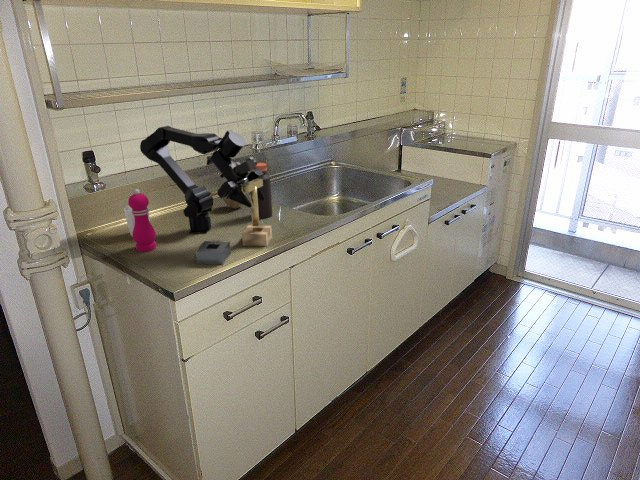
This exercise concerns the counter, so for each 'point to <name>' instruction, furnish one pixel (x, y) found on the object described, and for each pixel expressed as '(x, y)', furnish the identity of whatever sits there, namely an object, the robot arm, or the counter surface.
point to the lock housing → (213, 252)
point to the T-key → (253, 198)
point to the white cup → (131, 218)
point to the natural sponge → (232, 202)
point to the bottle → (265, 193)
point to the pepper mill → (142, 223)
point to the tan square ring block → (257, 235)
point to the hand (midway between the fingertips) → (257, 203)
